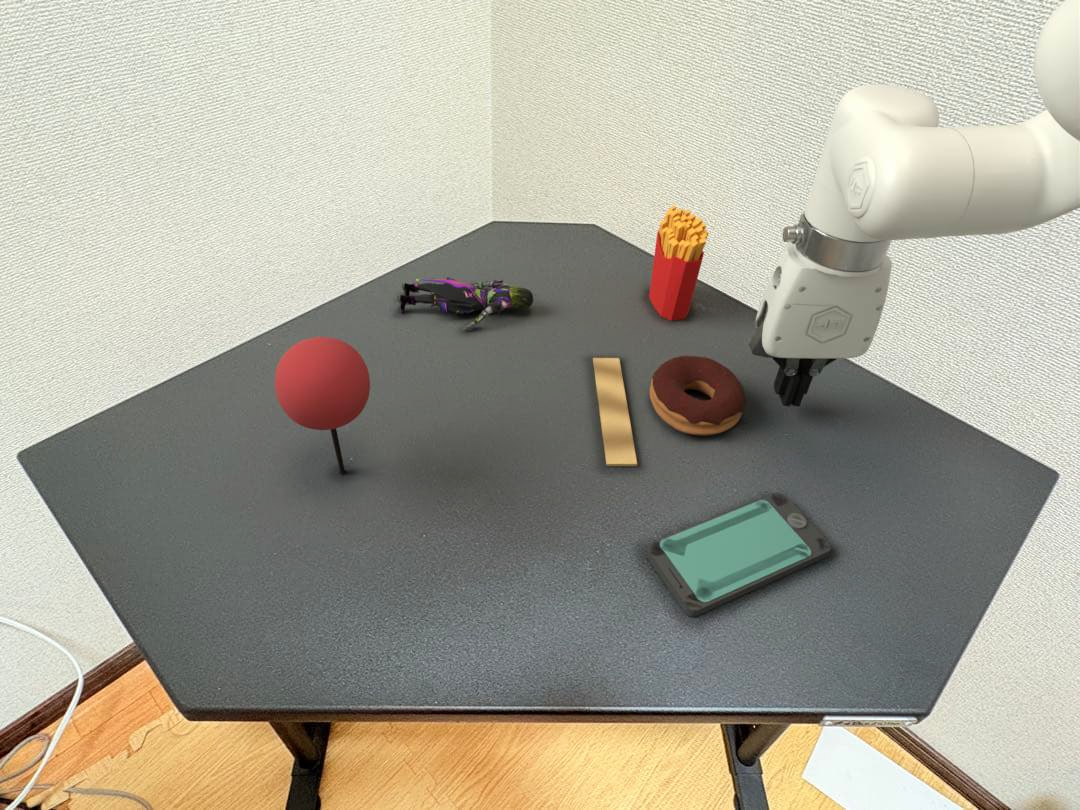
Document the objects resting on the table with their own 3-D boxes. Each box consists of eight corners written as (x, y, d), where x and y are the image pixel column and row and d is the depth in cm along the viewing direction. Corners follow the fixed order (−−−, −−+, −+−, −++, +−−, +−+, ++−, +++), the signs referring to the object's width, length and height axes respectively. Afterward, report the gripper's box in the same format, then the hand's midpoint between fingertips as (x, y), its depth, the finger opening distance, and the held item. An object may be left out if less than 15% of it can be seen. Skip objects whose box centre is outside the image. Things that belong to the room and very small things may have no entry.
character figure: (395, 330, 85) (531, 334, 85) (390, 304, 83) (530, 307, 82) (410, 285, 92) (536, 288, 91) (406, 260, 90) (535, 262, 89)
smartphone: (834, 547, 63) (692, 611, 58) (830, 555, 64) (689, 619, 59) (779, 487, 68) (643, 541, 63) (776, 496, 69) (641, 550, 64)
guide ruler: (636, 466, 71) (637, 463, 70) (606, 466, 71) (606, 463, 70) (619, 360, 82) (619, 357, 82) (592, 360, 82) (593, 357, 82)
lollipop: (386, 496, 67) (365, 373, 57) (300, 508, 66) (263, 384, 55) (381, 437, 72) (361, 315, 62) (302, 447, 71) (268, 324, 61)
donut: (746, 446, 73) (755, 417, 70) (648, 437, 74) (654, 408, 71) (736, 380, 81) (744, 352, 78) (647, 372, 81) (652, 344, 78)
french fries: (642, 288, 93) (656, 202, 85) (671, 285, 94) (687, 199, 85) (667, 328, 87) (684, 240, 79) (697, 324, 88) (718, 236, 79)
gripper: (769, 262, 60) (723, 422, 72) (945, 264, 61) (870, 422, 73) (747, 217, 65) (708, 373, 78) (909, 220, 66) (845, 374, 78)
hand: (787, 396), depth 75 cm, fingers closed
